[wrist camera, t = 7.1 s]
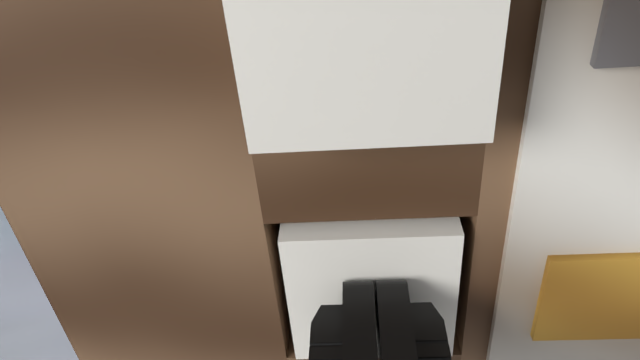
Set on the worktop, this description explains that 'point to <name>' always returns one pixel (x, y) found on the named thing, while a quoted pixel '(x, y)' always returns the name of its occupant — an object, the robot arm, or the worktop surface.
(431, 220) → the button
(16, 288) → the worktop surface
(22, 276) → the worktop surface
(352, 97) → the button middle
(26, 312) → the worktop surface
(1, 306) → the worktop surface
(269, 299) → the button board
